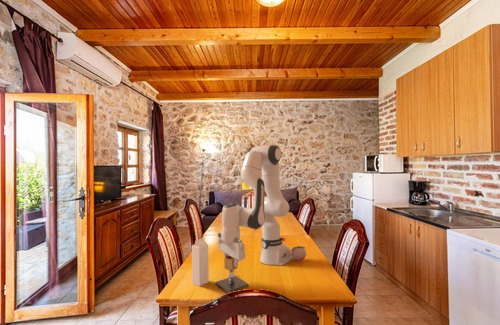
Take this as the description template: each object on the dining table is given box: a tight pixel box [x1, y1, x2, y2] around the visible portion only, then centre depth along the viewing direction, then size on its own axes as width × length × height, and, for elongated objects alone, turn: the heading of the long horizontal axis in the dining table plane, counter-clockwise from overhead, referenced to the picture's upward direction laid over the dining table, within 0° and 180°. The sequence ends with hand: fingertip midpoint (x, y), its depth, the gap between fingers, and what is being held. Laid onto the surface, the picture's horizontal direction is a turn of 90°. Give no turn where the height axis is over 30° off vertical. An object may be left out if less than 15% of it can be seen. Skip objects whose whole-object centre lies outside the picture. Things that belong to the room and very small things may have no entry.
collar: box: [223, 255, 239, 271], centre depth 125 cm, size 6×6×5 cm
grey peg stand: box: [214, 269, 250, 294], centre depth 125 cm, size 12×12×8 cm
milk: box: [191, 237, 210, 287], centre depth 128 cm, size 6×6×22 cm
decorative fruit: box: [290, 245, 307, 263], centre depth 154 cm, size 9×8×10 cm
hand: (231, 263), depth 125 cm, fingers closed on collar, 6 cm apart
